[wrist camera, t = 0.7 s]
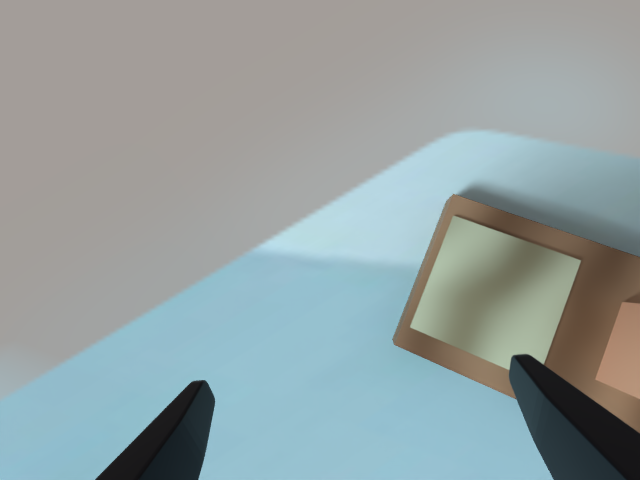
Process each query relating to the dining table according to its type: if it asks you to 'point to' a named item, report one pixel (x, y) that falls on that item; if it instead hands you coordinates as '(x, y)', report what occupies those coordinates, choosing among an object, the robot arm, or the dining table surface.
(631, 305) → the block
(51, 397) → the dining table surface
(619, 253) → the board
